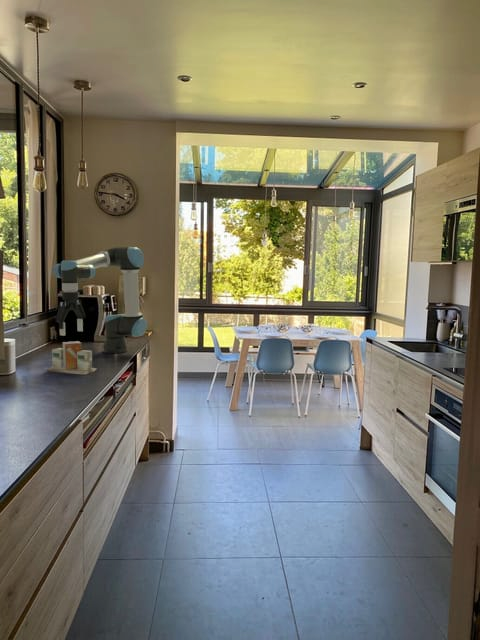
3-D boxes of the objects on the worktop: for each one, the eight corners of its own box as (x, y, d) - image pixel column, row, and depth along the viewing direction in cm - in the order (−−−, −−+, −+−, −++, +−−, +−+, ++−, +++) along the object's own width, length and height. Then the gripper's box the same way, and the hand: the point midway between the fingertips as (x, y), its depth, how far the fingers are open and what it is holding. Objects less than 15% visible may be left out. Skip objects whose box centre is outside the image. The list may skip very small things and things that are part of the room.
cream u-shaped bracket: (61, 366, 233) (60, 347, 232) (96, 370, 227) (96, 350, 226) (47, 370, 224) (46, 350, 222) (84, 374, 217) (84, 353, 216)
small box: (65, 369, 220) (64, 344, 219) (62, 367, 226) (62, 342, 224) (82, 367, 225) (81, 342, 223) (79, 365, 230) (78, 340, 228)
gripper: (79, 289, 233) (80, 329, 236) (46, 292, 210) (48, 336, 212) (91, 290, 231) (93, 330, 234) (59, 293, 207) (61, 337, 210)
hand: (71, 333), depth 223 cm, fingers open, 13 cm apart
